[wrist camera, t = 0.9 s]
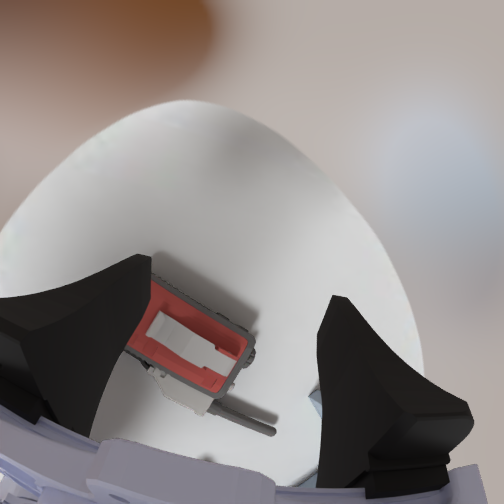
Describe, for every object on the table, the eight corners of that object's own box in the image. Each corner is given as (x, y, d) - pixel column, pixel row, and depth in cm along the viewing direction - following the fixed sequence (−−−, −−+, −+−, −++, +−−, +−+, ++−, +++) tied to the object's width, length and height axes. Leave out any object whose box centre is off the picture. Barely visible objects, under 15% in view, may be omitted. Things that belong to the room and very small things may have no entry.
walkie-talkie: (82, 341, 24) (264, 435, 28) (71, 353, 19) (282, 455, 24) (132, 257, 26) (308, 365, 30) (130, 253, 22) (331, 376, 26)
